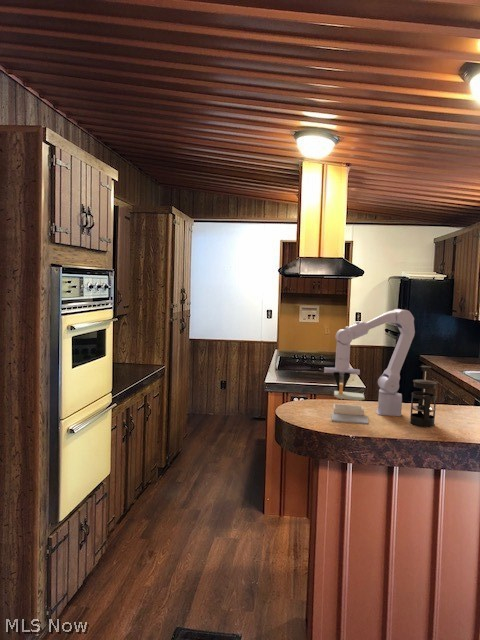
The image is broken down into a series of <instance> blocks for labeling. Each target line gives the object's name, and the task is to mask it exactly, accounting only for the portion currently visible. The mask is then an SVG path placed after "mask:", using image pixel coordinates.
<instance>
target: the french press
mask: <svg viewBox="0 0 480 640" xmlns="http://www.w3.org/2000/svg"><path fill="white" fill-rule="evenodd" d="M419 367H420V368H423V369H424V379H413V380H412V382H413V387H414V388H417V389H423V391H412V392H411V406H410V418H409V419H410V420H409V424H410V425H411V424H412V426H415V427H420V428H427V427H428V428H434V427H435V426H436V424H435V417H436V406H437V405H436V403H437V394H435V393H433V392H428V391H427V392H426V390H435V389H436V385H437V384H438V382H437V381H434V380H430V379H429V380H428V379H426V378H427V372H428V369H432V366H430V365H420V366H419ZM414 398H415V399H418V401H417V403H418V404H417V405H414ZM431 401H433V407H431ZM413 411H417V412H414V413H413ZM430 413H432V414H430Z"/></svg>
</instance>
